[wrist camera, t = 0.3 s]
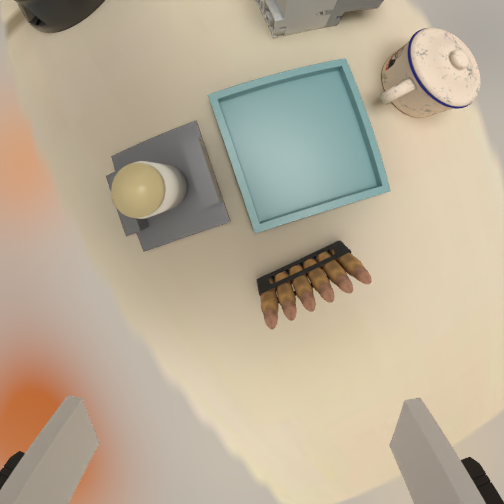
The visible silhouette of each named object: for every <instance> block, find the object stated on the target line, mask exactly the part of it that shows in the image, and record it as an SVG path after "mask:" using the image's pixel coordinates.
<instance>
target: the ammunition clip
mask: <svg viewBox="0 0 504 504" xmlns="http://www.w3.org/2000/svg"><path fill="white" fill-rule="evenodd" d="M322 269H323V270H322ZM323 271H324V272H325V273H326V275H327V276H326V275H325V273H324V272H323ZM346 272H347V273H348V274H349V275H351V276H353V277H355V278H356V279H357V280H359V281H360V282H362V283H364V284H370V283H371V276H370V274H369V273H368V271H367V270H366V269H365V268H364V267H363V265H362V263H361V262H360V261H359V260H358V259H357V258H356V257H354V256H353V255H352V254H351V251H350V250H349V249H348V248H347V247H346V246H345V245H344V244H343V243H342V242H341V241H337V242H335V243H333V244H331V245H329V246H327V247H325V248H323V249H321V250H318V251H316V252H314V253H312V254H310V255H308V256H306V257H304V258H302V259H300V260H297V261H295V262H293V263H291V264H289V265H287V266H285V267H282V268H280V269H278V270H276V271H274V272H272V273H270V274H267V275H265V276H263V277H261V278H259V279H257V284H258V290H259V295H260V296H261V309H262V312H263V314H264V319H265V322H266V325H267V326H268V327H269V328H270V329H274V328H275V326H276V324H277V319H278V303H279V304H280V305H281V306H282V309H283V312H284V314H285V316H286V317H287V318H288V319H289V320H291V321H292V320H294V319H295V317H296V304H295V302H296V298H295V296H296V295H297V297H298V298H299V299H300V300H301V302H302V304H303V306H304V307H305V308H306V309H307V310H308V311H314V309H315V305H316V303H315V298H314V295H313V287H314V289H315V290H316V291H317V292H318V293H319V294H320V295H321V297H322V298H323V299H324V300H326V301H327V302H333V301H334V292H333V289H332V288H331V285H330V281H329V280H331V281H332V282H333V283H334V284H336V285H337V286H338V287H339V288H340V289H341V290H342V291H344V292H346V293H352V291H353V285H352V283H351V281H350V279H349V278H348V276H347V274H346ZM307 276H308V278H309V280H310V282H311V284H310V282H309V280H308V278H307ZM292 284H293V287H294V289H295V291H293V288H292ZM276 291H277V294H276ZM277 295H278V297H277Z"/></svg>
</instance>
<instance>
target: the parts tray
mask: <svg viewBox="0 0 504 504" xmlns="http://www.w3.org/2000/svg"><path fill="white" fill-rule="evenodd" d="M208 96H209V99H210V102H211V105H212V108H213V111H214V114H215V117H216V120H217V123H218V126H219V128H220V131H221V134H222V137H223V140H224V143H225V146H226V149H227V152H228V155H229V158H230V161H231V164H232V167H233V170H234V173H235V176H236V179H237V181H238V184H239V187H240V190H241V193H242V196H243V199H244V202H245V205H246V208H247V211H248V214H249V217H250V220H251V223H252V226H253V229H254V232H255V233H259V232H262V231H265V230H268V229H271V228H274V227H277V226H280V225H283V224H287V223H290V222H293V221H296V220H299V219H302V218H305V217H309V216H312V215H315V214H318V213H321V212H324V211H328V210H331V209H334V208H337V207H340V206H344V205H347V204H350V203H353V202H356V201H360V200H363V199H366V198H369V197H373V196H376V195H379V194H382V193H386V192H389V191H391V190H390V187H389V183H388V179H387V176H386V172H385V168H384V165H383V161H382V158H381V155H380V151H379V148H378V145H377V142H376V139H375V135H374V132H373V129H372V126H371V123H370V120H369V118H368V115H367V112H366V109H365V106H364V103H363V101H362V98H361V95H360V93H359V90H358V87H357V85H356V82H355V80H354V77H353V75H352V72H351V70H350V67H349V65H348V63H347V60H346V58H345V59H339V60H334V61H329V62H324V63H319V64H315V65H310V66H306V67H301V68H297V69H293V70H289V71H285V72H281V73H277V74H274V75H270V76H266V77H263V78H259V79H256V80H252V81H249V82H246V83H243V84H239V85H236V86H233V87H230V88H227V89H224V90H221V91H218V92H215V93H212V94H209V95H208Z"/></svg>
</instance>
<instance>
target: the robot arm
mask: <svg viewBox="0 0 504 504" xmlns="http://www.w3.org/2000/svg"><path fill="white" fill-rule="evenodd" d="M15 1H16V2H17V3H18V5H19V7H20V9H21V10H22V12H23V14H24V16H25V18H26V19H27V21H28V22H29V23H30V24H31V25H32V26H33V27H35V28H37V29H38V30H40V31H42V32H47V33H52V32H58V31H62V30H64V29H67V28H69V27H71V26H73V25H75V24H77V23H78V22H80V21H82V20H83V19H84V18H86V17H87V16H88V15H90V14H91V13H92V12H93V11H94V10H95V9H96V8H97V7H98V6H99V5H100V4H101V3H102V2H103V1H104V0H15ZM99 443H100V442H99V440H98V438H97V435H96V433H95V430H94V428H93V426H92V423H91V420H90V418H89V415H88V412H87V410H86V407H85V405H84V402H83V399H82V398H78V397H73V396H67V397H66V399H65V400H64V401H63V402H62V404H61V405H60V406H59V408H58V409H57V411H56V412H55V413H54V414H53V416H52V417H51V418H50V420H49V421H48V423H47V424H46V425H45V427H44V428H43V429H42V431H41V432H40V434H39V435H38V436H37V438H36V439H35V440H34V442H33V443H32V445H31V446H30V447H29V449H28V450H27V452H26V453H23V452H21V451H19V452H18V453H16V454H15V455H13V456H12V457H10V459H9V460H8V461H7V463H6V464H5V465H4V468H2V470H1V471H0V504H69V502H70V500H71V498H72V496H73V494H74V492H75V490H76V487H77V486H78V484H79V481H80V480H81V477H82V476H83V474H84V472H85V470H86V468H87V466H88V464H89V462H90V460H91V458H92V456H93V454H94V452H95V450H96V448H97V447H98V444H99ZM389 446H390V448H391V450H392V452H393V455H394V457H395V459H396V462H397V464H398V466H399V469H400V471H401V473H402V476H403V478H404V480H405V483H406V485H407V487H408V490H409V492H410V494H411V497H412V499H413V502H414V504H504V502H503V500H502V499H501V497H500V495H499V494H498V492H497V490H496V489H495V487H494V486H493V484H492V483H491V482H490V479H489V478H488V476H487V475H486V473H485V471H484V470H483V468H482V467H481V465H480V464H479V463H478V462H477V461H475V460H474V459H472V458H471V457H468V458H465V459H463V460H460V459H459V457H458V456H457V454H456V452H455V451H454V449H453V447H452V446H451V444H450V443H449V441H448V439H447V438H446V436H445V435H444V433H443V432H442V430H441V428H440V427H439V425H438V424H437V422H436V421H435V419H434V418H433V416H432V414H431V413H430V411H429V410H428V408H427V407H426V405H425V404H424V402H423V401H422V399H421V398H416V399H410V400H405V401H404V404H403V407H402V410H401V413H400V416H399V419H398V422H397V425H396V428H395V431H394V434H393V437H392V440H391V442H390V445H389Z"/></svg>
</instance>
